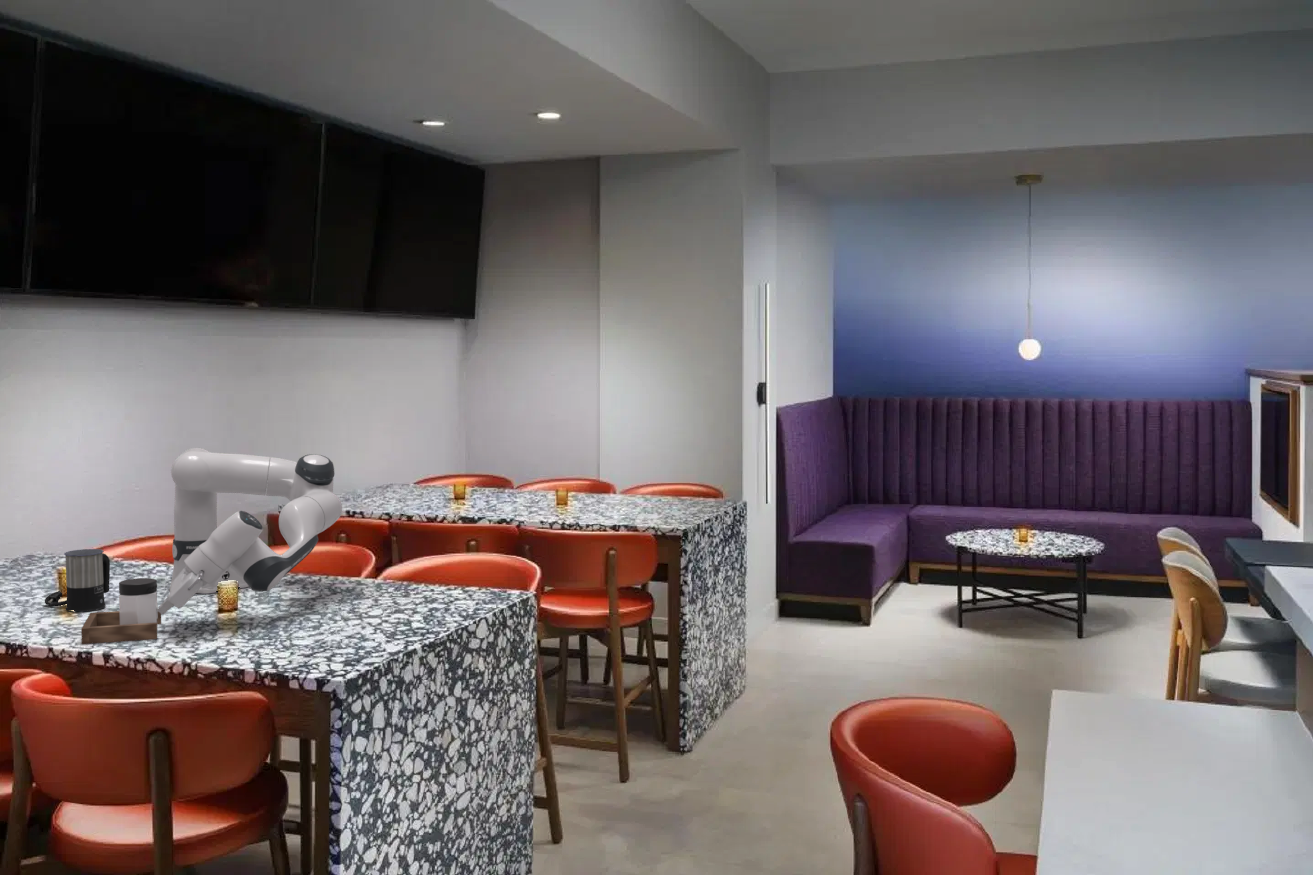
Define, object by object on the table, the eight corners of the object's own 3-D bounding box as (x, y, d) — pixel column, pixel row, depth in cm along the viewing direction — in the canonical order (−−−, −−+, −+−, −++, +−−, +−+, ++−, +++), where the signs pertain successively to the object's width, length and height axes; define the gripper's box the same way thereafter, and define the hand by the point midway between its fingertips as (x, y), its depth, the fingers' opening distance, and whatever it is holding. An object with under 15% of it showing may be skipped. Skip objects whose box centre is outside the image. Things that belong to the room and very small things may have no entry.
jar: (157, 634, 266) (155, 583, 266) (118, 637, 264) (117, 585, 263) (159, 626, 275) (158, 576, 274) (121, 628, 272) (120, 578, 271)
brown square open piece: (161, 622, 278) (160, 608, 278) (156, 638, 262) (156, 623, 262) (90, 627, 273) (90, 612, 273) (81, 644, 257) (81, 628, 257)
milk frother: (99, 612, 289) (98, 554, 288) (32, 614, 286) (30, 555, 285) (114, 600, 303) (113, 545, 302) (50, 602, 300) (48, 546, 299)
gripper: (213, 584, 263) (168, 629, 261) (214, 569, 283) (172, 611, 280) (192, 566, 262) (146, 612, 259) (194, 552, 281) (152, 594, 278)
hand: (160, 611), depth 270 cm, fingers closed
